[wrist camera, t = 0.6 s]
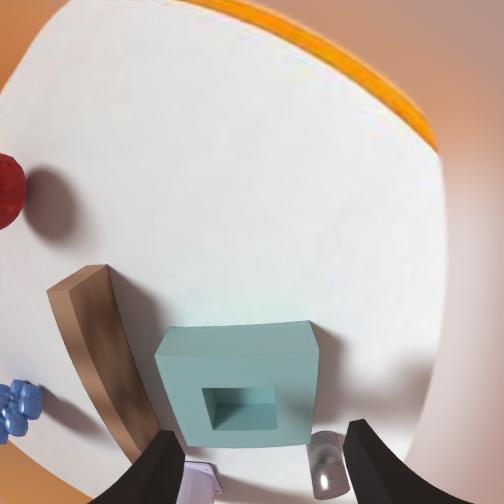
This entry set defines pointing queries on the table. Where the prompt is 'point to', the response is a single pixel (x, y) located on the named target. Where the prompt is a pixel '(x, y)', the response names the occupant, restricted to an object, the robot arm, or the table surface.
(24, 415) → the grapes
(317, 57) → the table surface
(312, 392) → the block
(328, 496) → the dowel
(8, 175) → the onion
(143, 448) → the wall
